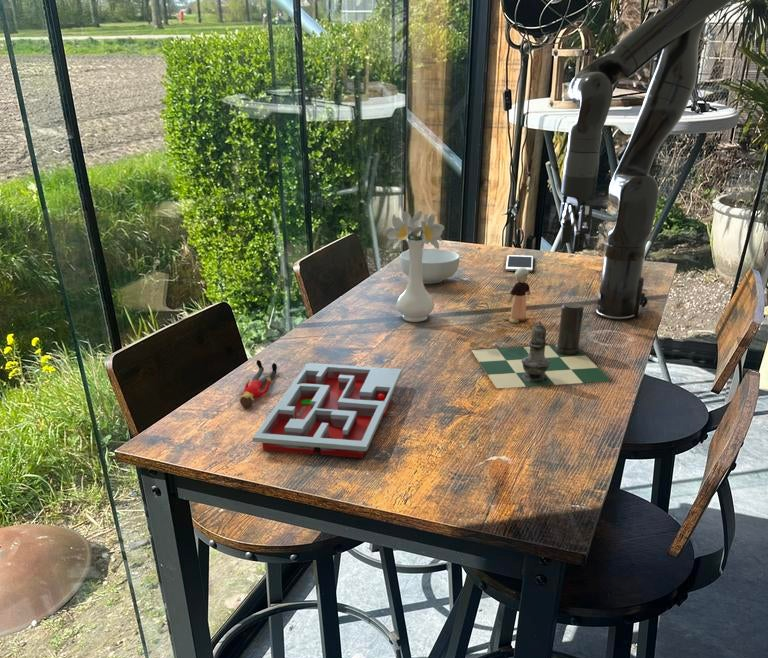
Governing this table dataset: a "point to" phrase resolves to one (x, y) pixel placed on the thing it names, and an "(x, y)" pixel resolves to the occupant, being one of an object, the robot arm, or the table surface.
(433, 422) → the table surface
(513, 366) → the chess mat
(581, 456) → the table surface
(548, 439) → the table surface
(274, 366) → the person figure
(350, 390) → the maze game
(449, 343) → the table surface
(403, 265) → the cereal bowl
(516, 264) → the cell phone
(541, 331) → the grey tall turned piece
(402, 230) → the flower vase
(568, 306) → the dark grey cylinder
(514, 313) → the grandmother figurine
